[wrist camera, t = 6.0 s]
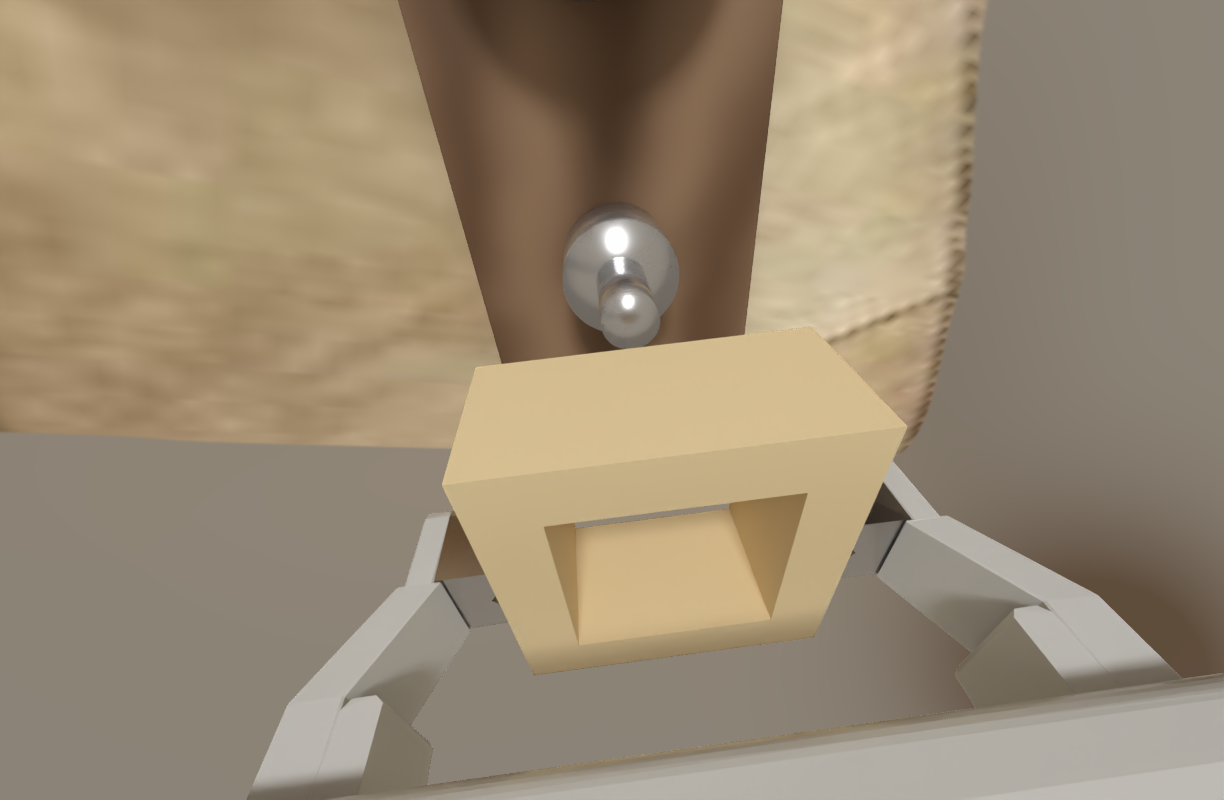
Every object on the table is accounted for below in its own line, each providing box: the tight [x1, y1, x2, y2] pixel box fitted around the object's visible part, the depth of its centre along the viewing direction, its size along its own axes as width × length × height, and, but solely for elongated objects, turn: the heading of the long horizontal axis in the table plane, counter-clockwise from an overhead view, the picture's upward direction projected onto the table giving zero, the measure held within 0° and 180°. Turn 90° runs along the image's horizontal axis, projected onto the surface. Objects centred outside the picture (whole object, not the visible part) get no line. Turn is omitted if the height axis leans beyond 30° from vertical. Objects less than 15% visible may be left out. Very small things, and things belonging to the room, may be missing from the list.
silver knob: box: [562, 202, 679, 349], centre depth 19 cm, size 5×5×7 cm
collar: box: [442, 327, 907, 675], centre depth 9 cm, size 7×7×3 cm
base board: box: [398, 0, 783, 364], centre depth 18 cm, size 14×28×2 cm, turn 5°
